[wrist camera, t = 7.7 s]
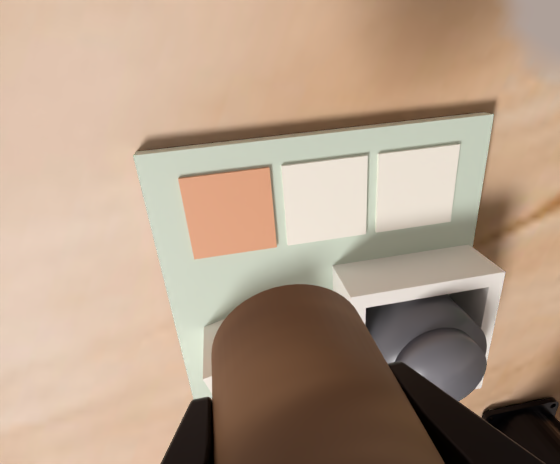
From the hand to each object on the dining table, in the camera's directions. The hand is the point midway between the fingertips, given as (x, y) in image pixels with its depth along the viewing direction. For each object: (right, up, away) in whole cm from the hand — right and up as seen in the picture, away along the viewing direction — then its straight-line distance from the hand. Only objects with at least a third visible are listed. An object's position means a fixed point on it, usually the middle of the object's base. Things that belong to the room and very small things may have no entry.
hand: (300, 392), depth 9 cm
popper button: (+7, -2, +15) cm, 17 cm away
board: (+2, +2, +14) cm, 14 cm away
